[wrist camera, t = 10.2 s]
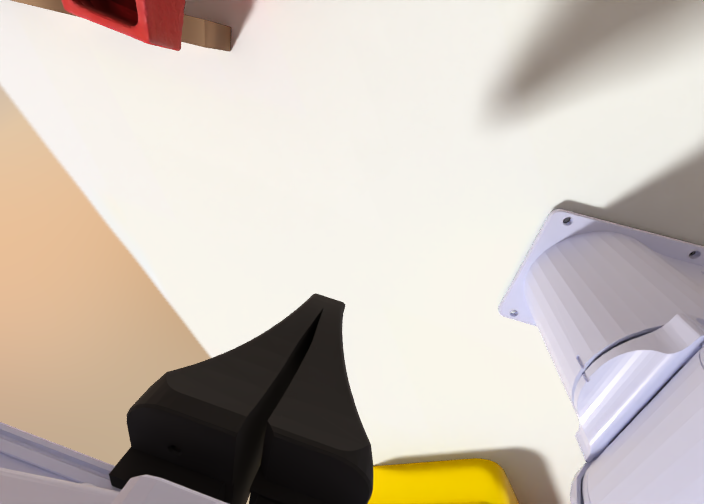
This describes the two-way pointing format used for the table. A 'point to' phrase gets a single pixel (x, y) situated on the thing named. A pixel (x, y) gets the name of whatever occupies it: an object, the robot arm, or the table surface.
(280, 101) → the table surface
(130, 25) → the toy fire truck
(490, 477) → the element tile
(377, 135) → the table surface
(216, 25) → the bay
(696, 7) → the table surface
